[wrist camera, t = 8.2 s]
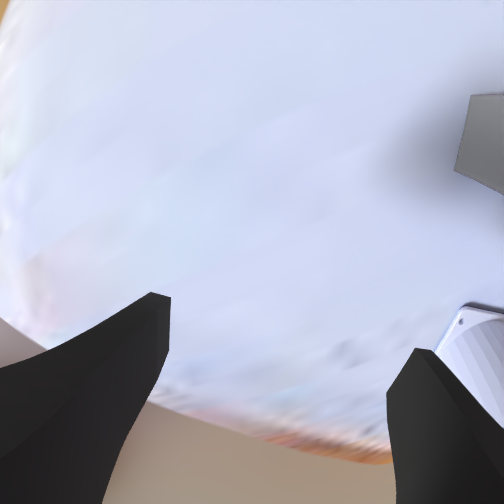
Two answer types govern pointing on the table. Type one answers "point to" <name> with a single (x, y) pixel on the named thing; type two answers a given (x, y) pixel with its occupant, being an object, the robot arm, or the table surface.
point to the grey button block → (483, 142)
